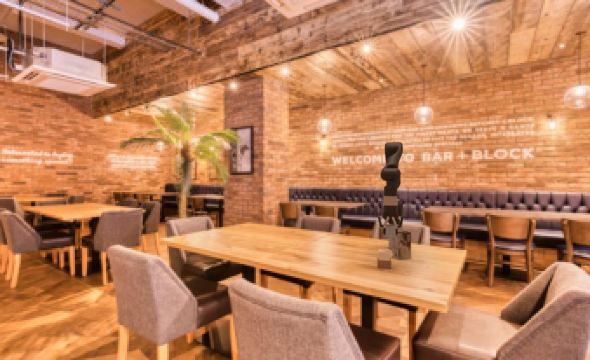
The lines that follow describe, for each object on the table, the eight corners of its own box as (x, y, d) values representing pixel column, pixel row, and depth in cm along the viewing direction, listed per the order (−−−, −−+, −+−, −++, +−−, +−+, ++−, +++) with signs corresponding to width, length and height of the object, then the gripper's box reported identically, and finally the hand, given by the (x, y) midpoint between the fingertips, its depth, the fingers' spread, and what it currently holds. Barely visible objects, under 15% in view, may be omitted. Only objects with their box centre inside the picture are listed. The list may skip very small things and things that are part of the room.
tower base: (377, 264, 167) (377, 256, 167) (390, 265, 166) (390, 257, 166) (377, 268, 161) (377, 260, 161) (391, 269, 159) (391, 261, 159)
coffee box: (404, 255, 185) (404, 230, 185) (411, 258, 179) (411, 232, 178) (391, 256, 182) (392, 231, 182) (398, 259, 176) (398, 233, 176)
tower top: (378, 257, 167) (378, 249, 167) (389, 257, 165) (389, 249, 165) (378, 260, 161) (378, 251, 161) (389, 260, 160) (389, 252, 159)
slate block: (385, 235, 165) (385, 224, 165) (394, 235, 164) (394, 224, 164) (385, 236, 161) (385, 225, 160) (395, 237, 159) (395, 226, 159)
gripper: (403, 204, 164) (403, 234, 164) (376, 203, 168) (376, 233, 168) (405, 205, 157) (404, 237, 157) (377, 204, 160) (377, 235, 160)
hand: (390, 234), depth 162 cm, fingers closed on slate block, 5 cm apart
